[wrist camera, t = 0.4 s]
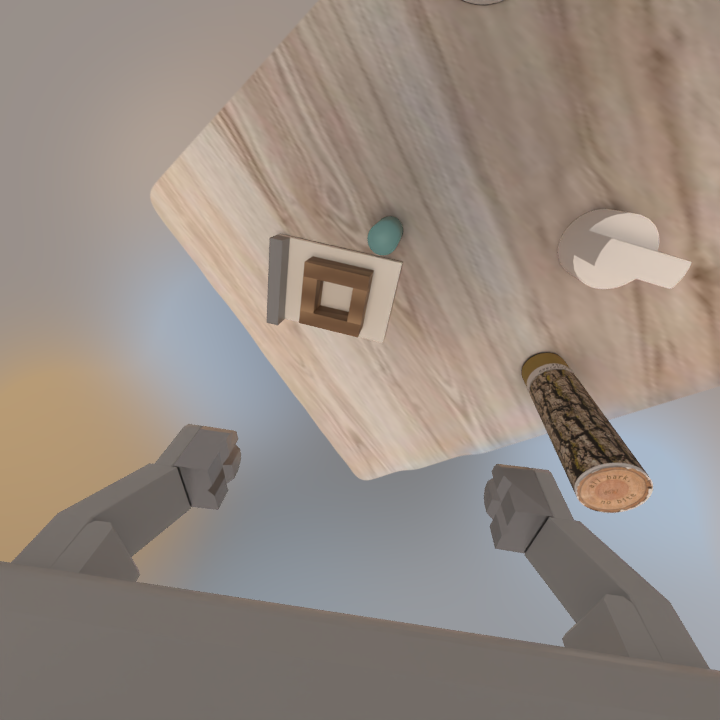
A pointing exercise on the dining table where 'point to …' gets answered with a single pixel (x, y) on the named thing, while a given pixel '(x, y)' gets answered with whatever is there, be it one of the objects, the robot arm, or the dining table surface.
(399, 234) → the teal rounded peg
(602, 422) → the wooden log cylinder
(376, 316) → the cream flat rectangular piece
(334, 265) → the socket block
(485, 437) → the dining table surface
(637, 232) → the base with upright slab
